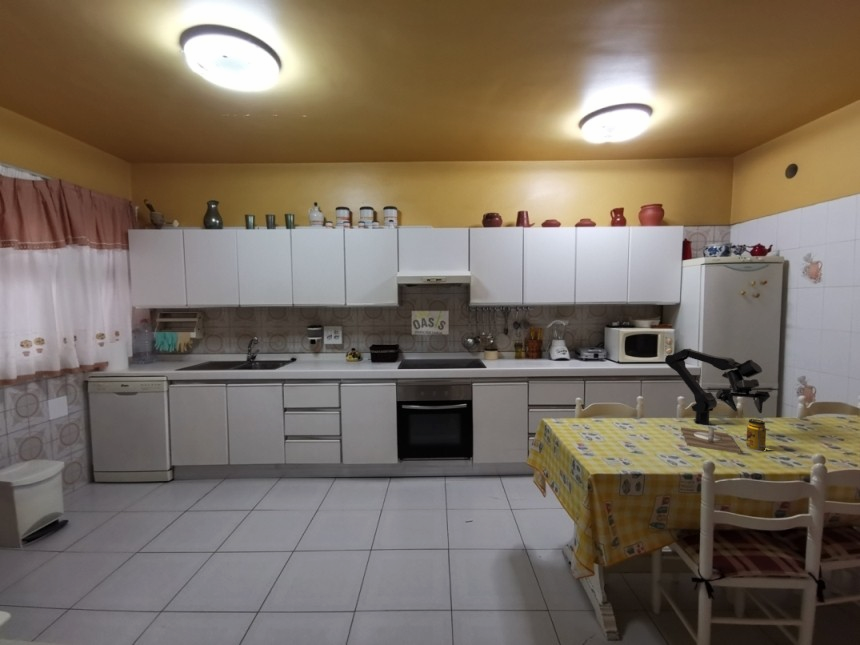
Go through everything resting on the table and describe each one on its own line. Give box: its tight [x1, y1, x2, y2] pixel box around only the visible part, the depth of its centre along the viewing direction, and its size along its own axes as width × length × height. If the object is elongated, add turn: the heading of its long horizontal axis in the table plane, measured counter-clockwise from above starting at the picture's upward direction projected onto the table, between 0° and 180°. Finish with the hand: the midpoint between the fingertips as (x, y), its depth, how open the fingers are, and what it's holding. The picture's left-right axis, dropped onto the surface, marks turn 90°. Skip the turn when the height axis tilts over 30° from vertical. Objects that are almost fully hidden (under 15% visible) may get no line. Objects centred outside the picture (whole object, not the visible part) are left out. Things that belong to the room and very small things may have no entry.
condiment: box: [741, 418, 768, 453], centre depth 158 cm, size 7×8×12 cm
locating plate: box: [680, 427, 741, 454], centre depth 167 cm, size 22×18×7 cm
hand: (748, 411), depth 165 cm, fingers open, 9 cm apart
